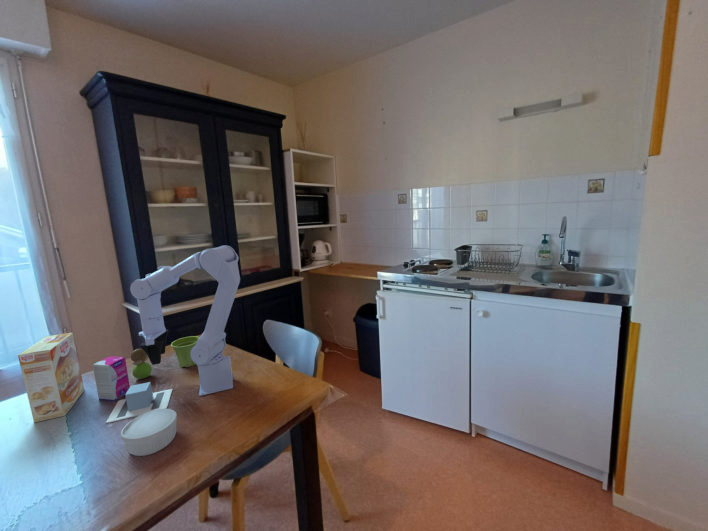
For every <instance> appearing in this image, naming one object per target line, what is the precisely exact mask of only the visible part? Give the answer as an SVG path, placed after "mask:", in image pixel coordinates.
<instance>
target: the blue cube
mask: <svg viewBox="0 0 708 531" xmlns="http://www.w3.org/2000/svg"><path fill="white" fill-rule="evenodd" d="M153 393H154V392H153V388H152V382H151V381H148V382H144V383H139V384H134V385H133V384H132V385H130V388H129V389H128V391H127V393H126V394H125V395H124V396H125V399H126V401H127V407H128V412H129V411H133V410H137V409H142V408H146V407H149V406H150V404H151V402H152V399H153Z"/></svg>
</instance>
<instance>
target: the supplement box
mask: <svg viewBox="0 0 708 531" xmlns="http://www.w3.org/2000/svg"><path fill="white" fill-rule="evenodd" d="M126 361H127V360H126V357H124V356H112V355H111V356H108V357H106V358H103V359H102V360H99V361H97V362H96V363H93V364H92V369H93V375H94V381H95V386H96V392H97V395H98V401H105V402H106V401H107V402H115V401H117V400H118V399H120V398H121V397H123V396H125V395H126V393H127V391H128V389H129V388H130V386H131V385H130V384H131V383H130V379H129V374H128V373H129V372H128V367H127V362H126Z"/></svg>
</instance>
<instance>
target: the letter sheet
mask: <svg viewBox="0 0 708 531" xmlns="http://www.w3.org/2000/svg"><path fill="white" fill-rule="evenodd" d="M152 393H153V399H152V402H151V404H150V406H149V407H146V408H142V409H137V410H133V411H129V412H128V407H127V401H126V398H123V399H120V400H118V401H117V402H116V404H115V406H114V408H113V409H112V412H110V415H109V417H108V418H107V420H106V421H105V424H110V423H113V422H114V423H115V422H119V421H123V420H127V419H131V418H136V417H138V416H140V415H142V414H144V413H147V412H150V411H153V410H157V409H168V407H169V403H170V399H171V396H172V393H173V388H169V389H165V390H164V389H163V390H161V391H156V392H152Z"/></svg>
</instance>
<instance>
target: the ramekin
mask: <svg viewBox="0 0 708 531" xmlns="http://www.w3.org/2000/svg"><path fill="white" fill-rule="evenodd" d="M177 420H178V414H177V412H176V411H175V410H173V409H171V408H167V409H157V410H153V411H150V412H147V413H144V414H142V415H140V416H136V417H134V418H133V419H131V420H130V421H128V423H126V424H125V426H124V427H123V428H122V430H121V431H120V437H121V440H122V441H124V444H125V447H126V449H127V451H128V452H129V454H131V455H132V456H136V457H139V456H140V457H143V456H144V457H145V456H149V455H152V454H155V453H157V452H159V451H161V450H163V449H164V448H166V447H167V446H168V445H170V443H172V441H173V440H174V438H175V437H176V434H177V422H178V421H177Z"/></svg>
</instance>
